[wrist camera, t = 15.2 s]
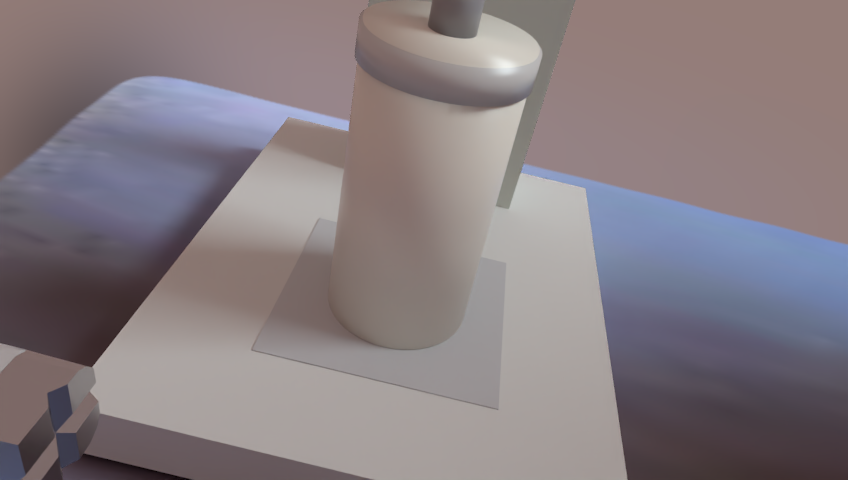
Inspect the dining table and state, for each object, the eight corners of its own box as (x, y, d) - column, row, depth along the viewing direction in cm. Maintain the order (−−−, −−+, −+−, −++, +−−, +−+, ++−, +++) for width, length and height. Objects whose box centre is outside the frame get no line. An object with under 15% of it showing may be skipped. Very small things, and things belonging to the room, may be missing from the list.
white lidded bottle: (397, 241, 27) (454, -56, 20) (494, 312, 24) (595, -2, 18) (295, 288, 23) (325, -52, 17) (396, 375, 21) (477, 14, 14)
